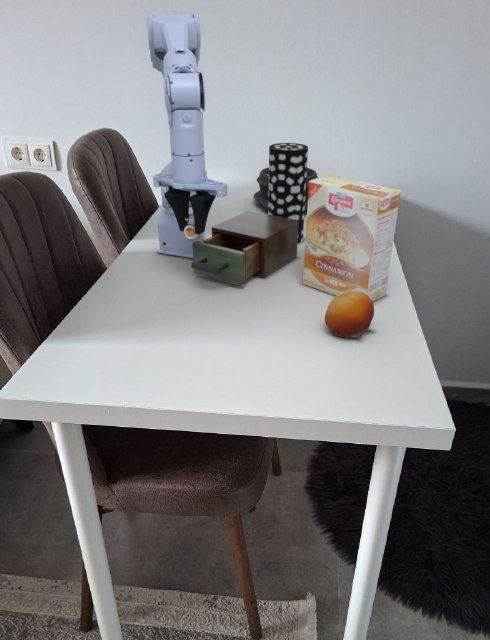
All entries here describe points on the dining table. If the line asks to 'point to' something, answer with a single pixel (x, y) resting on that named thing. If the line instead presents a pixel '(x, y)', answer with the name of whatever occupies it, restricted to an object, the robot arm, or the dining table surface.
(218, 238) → the drawer
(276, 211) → the spotted tube
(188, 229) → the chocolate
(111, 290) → the dining table surface
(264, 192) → the casserole
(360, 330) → the fruit
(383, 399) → the dining table surface
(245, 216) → the cabinet
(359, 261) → the coffeecake box
